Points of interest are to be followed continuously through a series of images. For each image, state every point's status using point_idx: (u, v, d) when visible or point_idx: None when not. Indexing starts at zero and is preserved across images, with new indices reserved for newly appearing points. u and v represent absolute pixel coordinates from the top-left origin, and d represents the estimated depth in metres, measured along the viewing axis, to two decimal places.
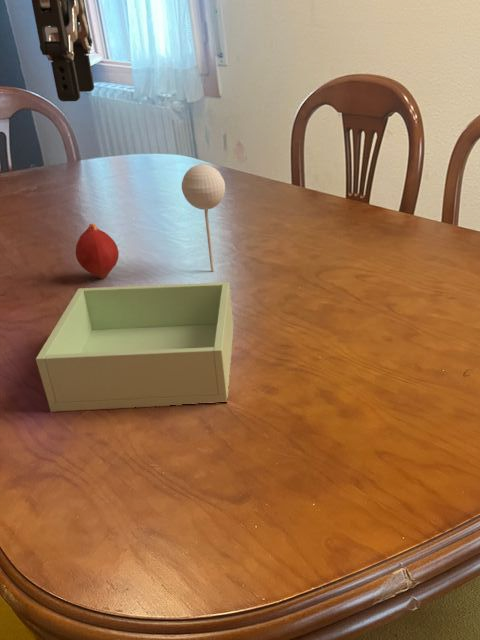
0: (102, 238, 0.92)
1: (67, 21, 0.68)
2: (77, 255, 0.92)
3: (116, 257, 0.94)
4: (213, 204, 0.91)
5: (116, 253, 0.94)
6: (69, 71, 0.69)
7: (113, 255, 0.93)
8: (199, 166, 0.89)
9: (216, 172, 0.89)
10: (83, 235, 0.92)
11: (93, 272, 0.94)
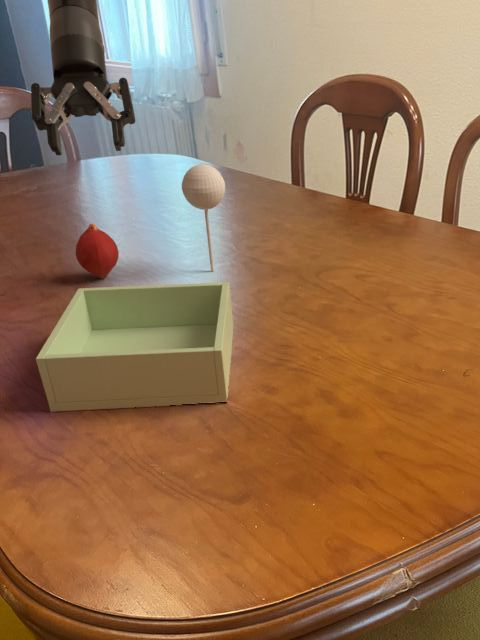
0: (102, 238, 0.92)
1: (102, 108, 0.98)
2: (77, 255, 0.92)
3: (116, 257, 0.94)
4: (213, 204, 0.91)
5: (116, 253, 0.94)
6: None
7: (113, 255, 0.93)
8: (199, 166, 0.89)
9: (216, 172, 0.89)
10: (83, 235, 0.92)
11: (93, 272, 0.94)
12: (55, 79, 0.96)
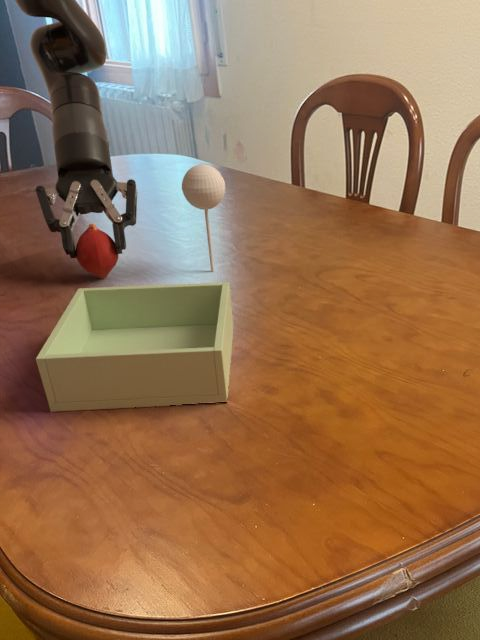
0: (102, 238, 0.92)
1: None
2: (77, 255, 0.92)
3: (116, 257, 0.94)
4: (213, 204, 0.91)
5: (116, 253, 0.94)
6: None
7: (113, 255, 0.93)
8: (199, 166, 0.89)
9: (216, 172, 0.89)
10: (83, 235, 0.92)
11: (93, 272, 0.94)
12: (60, 177, 0.93)
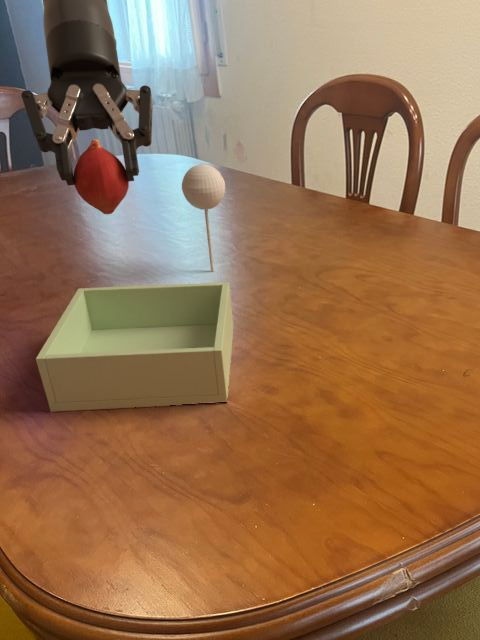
0: (108, 158, 0.71)
1: None
2: (76, 181, 0.71)
3: (126, 185, 0.73)
4: (213, 204, 0.91)
5: (126, 180, 0.72)
6: None
7: (123, 183, 0.72)
8: (199, 166, 0.89)
9: (216, 172, 0.89)
10: (83, 155, 0.70)
11: (96, 205, 0.72)
12: (53, 80, 0.71)
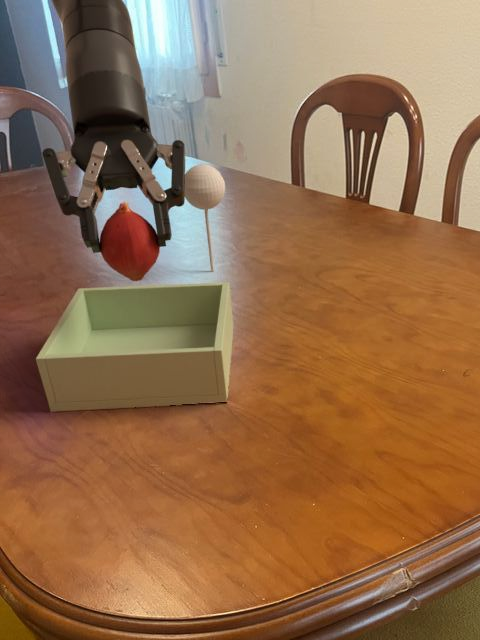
0: (138, 223, 0.64)
1: None
2: (102, 248, 0.64)
3: (157, 251, 0.66)
4: (213, 204, 0.91)
5: (157, 245, 0.65)
6: None
7: (154, 249, 0.65)
8: (199, 166, 0.89)
9: (216, 172, 0.89)
10: (111, 219, 0.63)
11: (124, 273, 0.65)
12: (77, 136, 0.65)
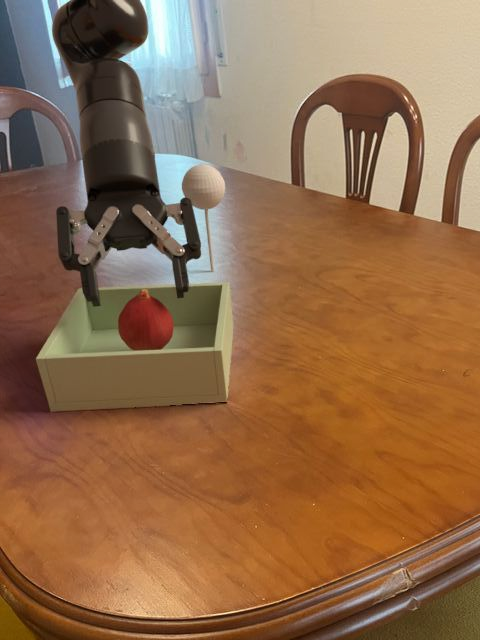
0: (156, 309, 0.69)
1: (155, 237, 0.70)
2: (120, 329, 0.69)
3: (171, 333, 0.71)
4: (213, 204, 0.91)
5: (172, 328, 0.71)
6: None
7: (169, 332, 0.70)
8: (199, 166, 0.89)
9: (216, 172, 0.89)
10: (131, 304, 0.68)
11: None
12: (90, 200, 0.68)
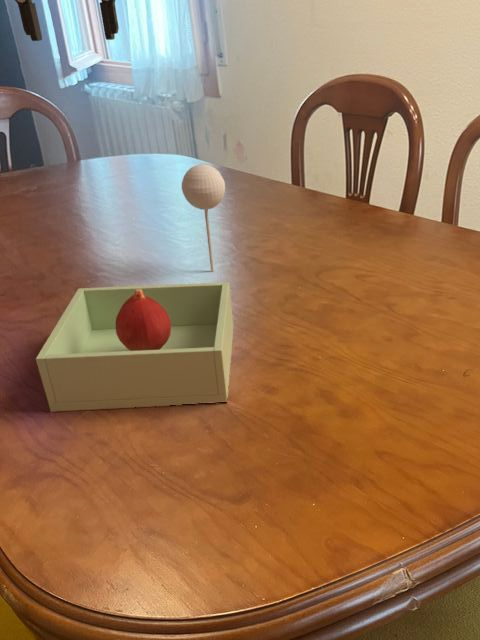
0: (151, 308, 0.69)
1: None
2: (118, 331, 0.69)
3: (169, 332, 0.71)
4: (213, 204, 0.91)
5: (169, 327, 0.71)
6: None
7: (166, 331, 0.70)
8: (199, 166, 0.89)
9: (216, 172, 0.89)
10: (126, 305, 0.69)
11: None
12: None
